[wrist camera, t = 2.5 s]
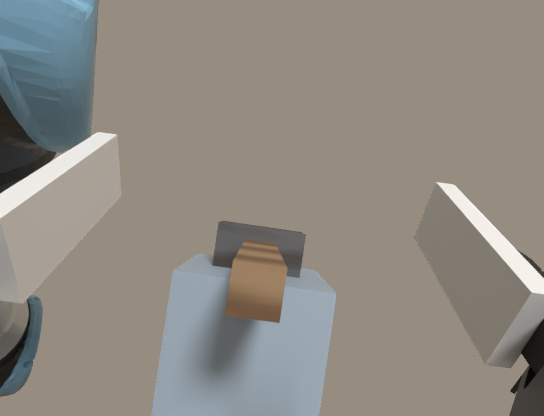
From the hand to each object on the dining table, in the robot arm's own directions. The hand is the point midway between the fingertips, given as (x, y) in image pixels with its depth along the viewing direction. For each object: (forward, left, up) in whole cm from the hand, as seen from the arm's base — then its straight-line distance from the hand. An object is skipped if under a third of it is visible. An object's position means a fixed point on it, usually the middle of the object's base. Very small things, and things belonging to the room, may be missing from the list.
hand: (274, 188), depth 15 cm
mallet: (-10, +17, -8) cm, 21 cm away
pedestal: (-13, +23, -38) cm, 46 cm away
